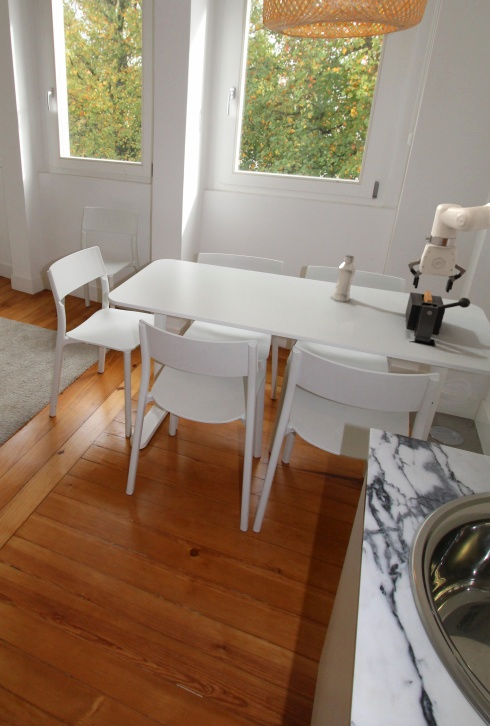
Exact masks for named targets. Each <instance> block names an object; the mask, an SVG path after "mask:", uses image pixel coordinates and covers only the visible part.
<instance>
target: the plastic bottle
mask: <svg viewBox="0 0 490 726" xmlns="http://www.w3.org/2000/svg"><path fill="white" fill-rule="evenodd" d="M354 262H355V256H354V255H349V254H347V255H344V258H343V262H341V264H340V265H339V266H338V268H337V279H336V280H337V281H336V285H335V289H334V291H333V293H332V299H333V300H335V301H338V302H349V301H350V298H351V297H350V296H351V287H352V282H353V279H354V276H355V273H356V266H355V264H354Z"/></svg>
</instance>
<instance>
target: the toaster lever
mask: <svg viewBox="0 0 490 726" xmlns="http://www.w3.org/2000/svg"><path fill="white" fill-rule="evenodd" d="M470 305H471V300H470V299H469V298H468V297H461V298H459V299H458V301H456V302H451V303H446V304H444V305H441V306H436V307H437V308H438V310H441V309H445V310H446V309H450V308H455V307H461V308H462V309H463V308H465V309H466V308H469V306H470ZM428 306H431V307H433V305H428Z"/></svg>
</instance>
